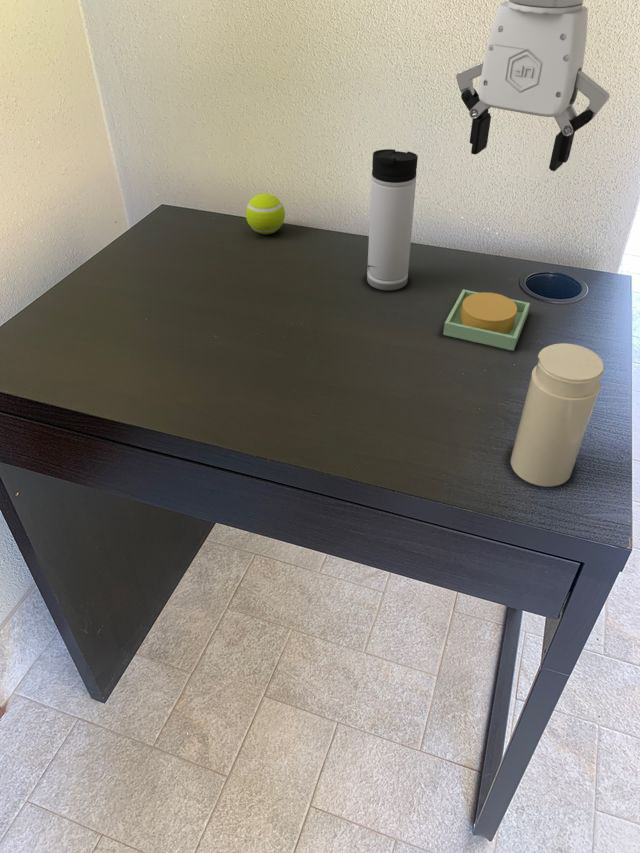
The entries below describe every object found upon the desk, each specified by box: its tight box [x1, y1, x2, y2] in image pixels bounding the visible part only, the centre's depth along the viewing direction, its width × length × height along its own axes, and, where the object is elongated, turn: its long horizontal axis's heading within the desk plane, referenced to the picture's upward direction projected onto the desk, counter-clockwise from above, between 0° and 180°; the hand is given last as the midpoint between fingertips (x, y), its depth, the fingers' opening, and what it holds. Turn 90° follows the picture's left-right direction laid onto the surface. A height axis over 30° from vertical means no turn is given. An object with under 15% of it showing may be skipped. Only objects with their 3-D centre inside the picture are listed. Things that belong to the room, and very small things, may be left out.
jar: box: [510, 342, 605, 488], centre depth 71 cm, size 7×7×14 cm
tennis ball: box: [245, 193, 286, 235], centre depth 117 cm, size 7×7×7 cm
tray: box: [442, 289, 531, 352], centre depth 96 cm, size 10×10×2 cm
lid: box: [460, 291, 517, 334], centre depth 95 cm, size 8×8×3 cm
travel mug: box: [366, 148, 419, 292], centre depth 99 cm, size 6×7×20 cm
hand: (516, 158), depth 81 cm, fingers open, 9 cm apart
